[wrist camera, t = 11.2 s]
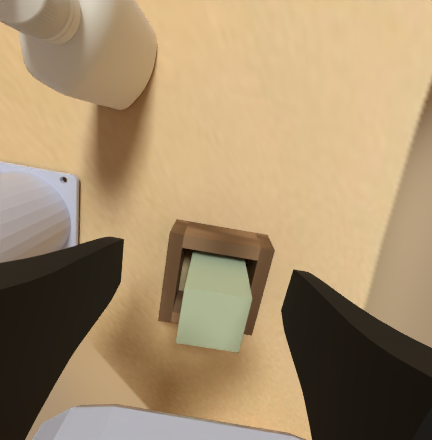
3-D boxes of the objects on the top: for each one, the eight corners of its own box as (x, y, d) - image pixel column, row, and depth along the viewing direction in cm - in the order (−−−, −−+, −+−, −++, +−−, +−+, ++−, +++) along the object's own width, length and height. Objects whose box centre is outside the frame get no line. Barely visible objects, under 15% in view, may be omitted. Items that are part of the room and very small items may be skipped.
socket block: (165, 298, 23) (158, 320, 21) (176, 219, 21) (169, 232, 18) (248, 311, 24) (251, 335, 21) (267, 235, 21) (274, 250, 19)
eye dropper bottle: (75, 59, 18) (-183, -76, 6) (142, 8, 17) (-20, -256, 6) (114, 118, 19) (-47, 92, 8) (179, 74, 18) (107, -34, 7)
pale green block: (188, 283, 23) (175, 342, 16) (195, 241, 22) (184, 287, 15) (233, 290, 23) (238, 352, 17) (242, 249, 22) (252, 298, 15)
